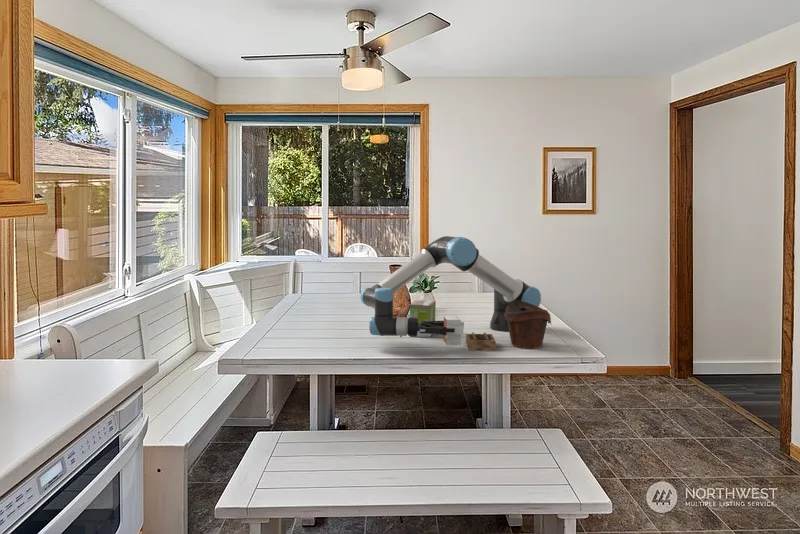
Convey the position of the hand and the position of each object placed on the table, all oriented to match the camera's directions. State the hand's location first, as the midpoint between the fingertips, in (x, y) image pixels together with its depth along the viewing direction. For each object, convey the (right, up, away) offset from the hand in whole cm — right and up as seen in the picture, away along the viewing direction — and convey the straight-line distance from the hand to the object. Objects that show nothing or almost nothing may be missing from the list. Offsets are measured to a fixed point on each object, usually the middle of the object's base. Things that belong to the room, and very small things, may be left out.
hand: (463, 327), depth 237 cm
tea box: (-15, -7, +35) cm, 39 cm away
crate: (+8, -9, +9) cm, 15 cm away
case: (+28, -9, +11) cm, 31 cm away
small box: (-4, -7, +1) cm, 8 cm away
